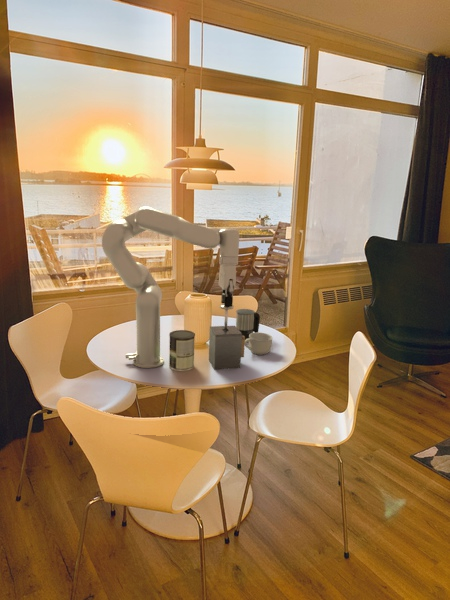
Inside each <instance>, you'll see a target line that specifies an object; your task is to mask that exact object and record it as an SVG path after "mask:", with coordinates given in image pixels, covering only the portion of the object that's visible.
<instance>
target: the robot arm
mask: <svg viewBox="0 0 450 600" xmlns="http://www.w3.org/2000/svg"><path fill="white" fill-rule="evenodd" d="M146 231H148V232H152V233H156V234H159V235H162V236H166V237H169V238H172V239H174V240H177V241H182V242H185V243H188V244H191V245H194V246H198V247H201V248H204V249H211V250H212V249H215V248H216V247H218V246H219V257H218V261H219V262H218V263H219V272H218V273H219V274H218V287H220V288H221V294H222V293H226V297H225V302H224V303H222V302H221V301H220V303H221V304H224V306H225V307H232V305H233V303H234V302H233V301H234V299H233V297H234V290H235V289H236V285H237V284H236V283H237V266H238V265H239V252H240V251H239V248H240V231H239V230H238V229H235V228H219V227H218V228H217V227H213V226H212V227H211V226H208V227H206V226H202V225H199V224H196V223H192V222H190V221H188V220H185V219H184V218H183V217H180V216H178V215H175V214H171V213H168V212H163V211H161V210H157V209H154V207H151V206H141V207H140V208H139V209H137V210H136V211H135V212H132V213H130V214H128V215H127V216H125V217H123V218H121V219H119V220H115V221H112V222H110V224H108V225H107V226H106V228H105V230H104V232H103V233H102V237H101V248H102V250H103V252H104V254H105V256H106V258H107V259H108V261H109V262H110V264H111V266H112V267H113V268H114V271H115V272H116V274H117V275H118V276H119V278H120V279H121V281H122V283H123V284H124V285H125V286H126V288H128V289H130V290H134V291H135V292H136V298H135V303H134V304H135V314H136V315H135V316H136V318H135V319H136V320H135V321H136V322H135V323H136V350H135V352H133V353H125V359H128V360H129V361H132V363H133V365H134V366H135V367H137V368H143V369H153V368H158V367H161V366H162V365H163V364H164V362H165V360H164V358H163V357H162V356H161V302H162V299H163V292H162V289H161V287H160V286H159V284H158V282H157V281H156V279H155V278H154V276H153V275H152V274H151V272H150V270H149V269H148V267H147V266H146V265H144V264H143V263H141V262H138V261H136V259H135V258H134V257H133V255H132V253H131V252H130V251H129V249H128V248H127V246H126V241H128V240H130V239H132V238H134V237H136V236H138V235H140V234H142V233H144V232H146ZM221 300H222V296H221Z"/></svg>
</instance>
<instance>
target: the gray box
mask: <svg viewBox="0 0 450 600" xmlns="http://www.w3.org/2000/svg"><path fill="white" fill-rule="evenodd" d="M208 340H209V341H208V342H209V343H208V361H209V363H210V365H211V367H212V368H213V370H214V371H216V370H217V371H219V370H236V369H237V370H238V369H241V361H242V360H241V359H242V358H245V336H244V335H242V333H241V332H240V331H239V330H238V329H237V327H236V325H227V331H224V325H215V326H214V325H213V326H209V339H208Z"/></svg>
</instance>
